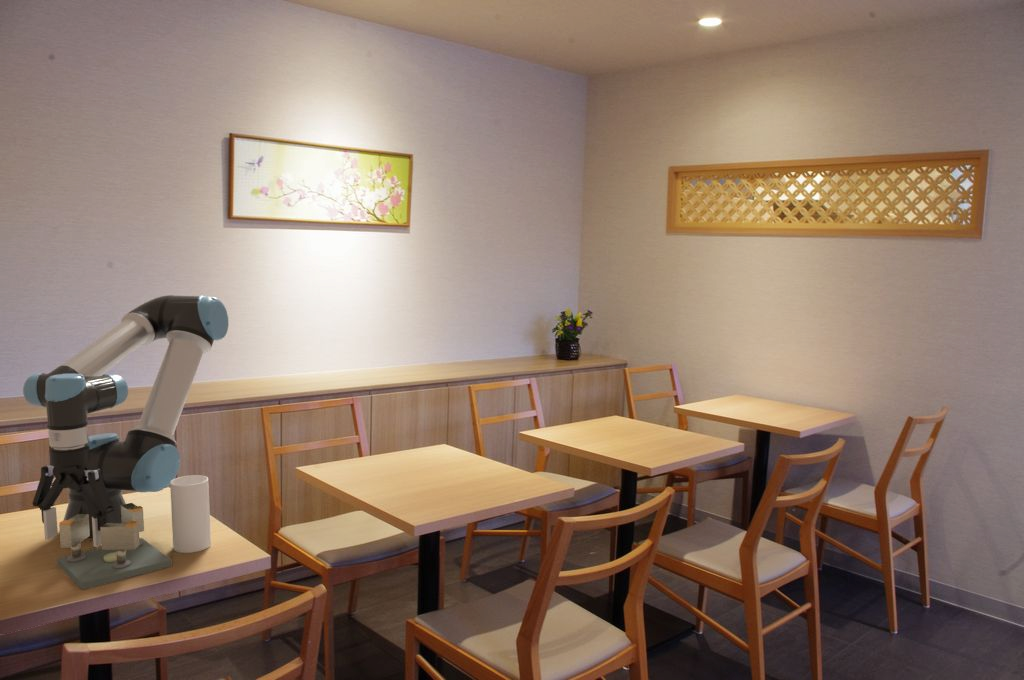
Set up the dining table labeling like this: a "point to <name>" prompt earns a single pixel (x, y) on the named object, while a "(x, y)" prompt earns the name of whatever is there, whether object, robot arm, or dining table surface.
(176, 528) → the cup
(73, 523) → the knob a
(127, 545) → the knob
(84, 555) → the board
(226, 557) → the dining table surface
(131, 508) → the knob
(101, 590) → the dining table surface
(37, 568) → the dining table surface
